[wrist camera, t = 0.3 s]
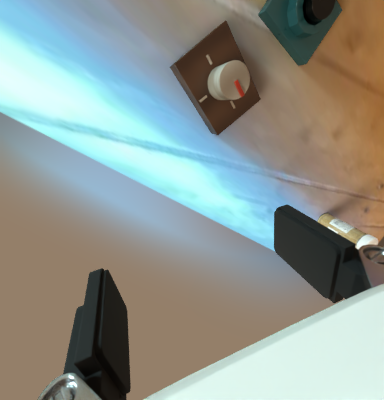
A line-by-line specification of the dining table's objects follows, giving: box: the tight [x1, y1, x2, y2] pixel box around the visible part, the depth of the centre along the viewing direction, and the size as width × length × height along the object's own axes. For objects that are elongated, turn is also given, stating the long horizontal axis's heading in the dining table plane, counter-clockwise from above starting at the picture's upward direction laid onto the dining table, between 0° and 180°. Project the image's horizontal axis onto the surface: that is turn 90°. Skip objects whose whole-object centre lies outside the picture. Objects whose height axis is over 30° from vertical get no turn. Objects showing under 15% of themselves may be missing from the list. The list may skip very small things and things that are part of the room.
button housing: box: [259, 0, 342, 66], centre depth 35 cm, size 12×10×4 cm
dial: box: [208, 60, 250, 100], centre depth 32 cm, size 5×5×5 cm
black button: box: [303, 0, 336, 24], centre depth 32 cm, size 4×4×2 cm
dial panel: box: [170, 21, 260, 135], centre depth 35 cm, size 13×10×3 cm
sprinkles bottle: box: [318, 213, 378, 250], centre depth 55 cm, size 5×5×13 cm
